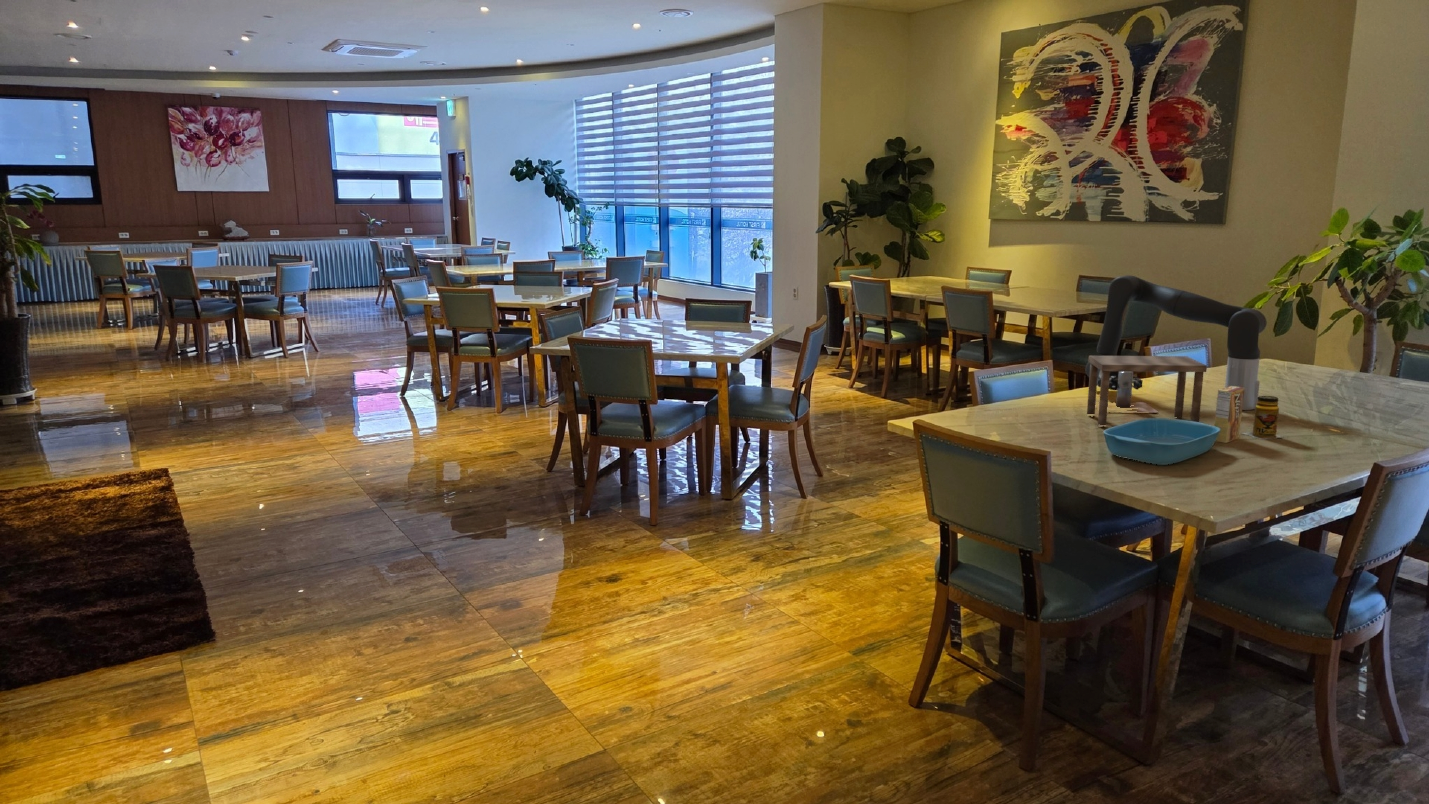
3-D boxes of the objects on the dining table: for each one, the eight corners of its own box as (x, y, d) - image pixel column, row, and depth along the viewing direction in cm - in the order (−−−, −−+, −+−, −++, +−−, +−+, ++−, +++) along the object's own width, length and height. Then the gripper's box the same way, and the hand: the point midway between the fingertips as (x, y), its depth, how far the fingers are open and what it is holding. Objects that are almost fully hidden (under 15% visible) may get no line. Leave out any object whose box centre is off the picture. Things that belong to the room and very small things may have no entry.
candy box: (1224, 435, 274) (1229, 385, 270) (1240, 438, 270) (1245, 387, 267) (1212, 440, 268) (1216, 389, 265) (1227, 443, 265) (1232, 391, 262)
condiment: (1264, 440, 268) (1268, 400, 266) (1240, 433, 276) (1244, 394, 274) (1283, 437, 270) (1288, 398, 268) (1259, 431, 278) (1263, 392, 276)
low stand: (1181, 416, 299) (1186, 356, 295) (1200, 429, 281) (1206, 365, 277) (1084, 415, 304) (1088, 355, 299) (1098, 427, 286) (1102, 364, 282)
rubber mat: (1144, 403, 319) (1144, 402, 319) (1158, 413, 304) (1158, 412, 303) (1089, 403, 322) (1090, 401, 322) (1101, 412, 306) (1101, 411, 306)
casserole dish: (1152, 435, 277) (1154, 412, 275) (1230, 449, 259) (1232, 425, 258) (1087, 457, 254) (1089, 432, 252) (1168, 474, 237) (1170, 447, 235)
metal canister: (1128, 405, 314) (1131, 370, 312) (1132, 408, 310) (1134, 373, 308) (1114, 405, 315) (1117, 370, 313) (1117, 407, 311) (1120, 373, 308)
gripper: (1091, 367, 327) (1103, 375, 312) (1134, 367, 325) (1147, 375, 309) (1090, 387, 329) (1101, 396, 313) (1132, 388, 327) (1145, 397, 311)
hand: (1124, 386), depth 311 cm, fingers open, 8 cm apart
